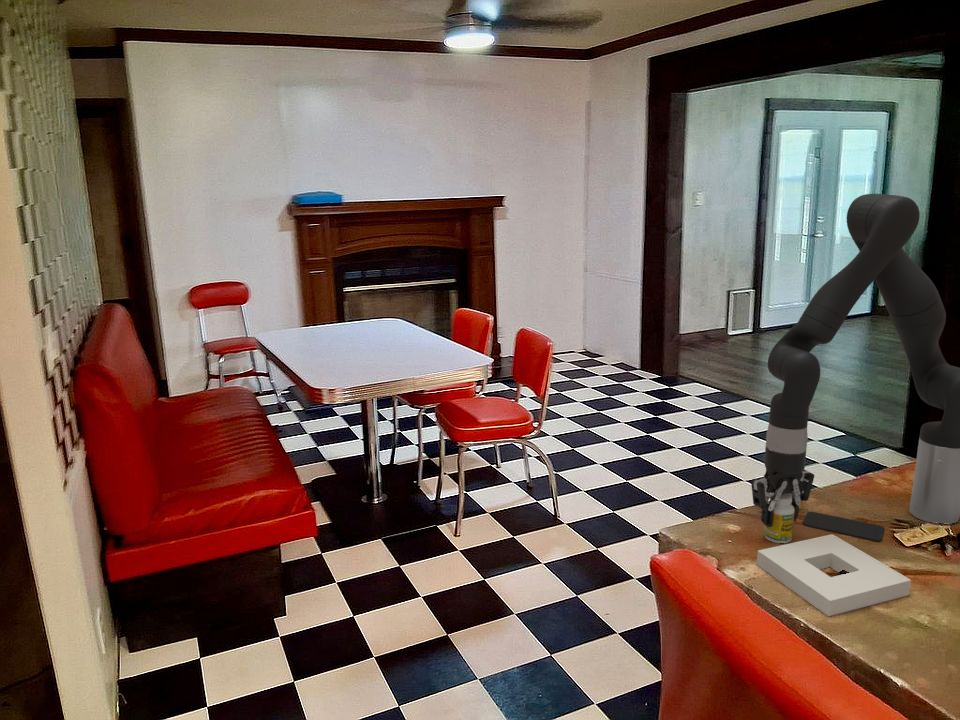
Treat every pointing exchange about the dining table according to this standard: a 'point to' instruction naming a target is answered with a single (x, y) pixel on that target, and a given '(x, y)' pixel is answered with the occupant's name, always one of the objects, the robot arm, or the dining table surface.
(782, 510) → the supplement bottle
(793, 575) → the socket block
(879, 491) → the dining table surface
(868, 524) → the phone
